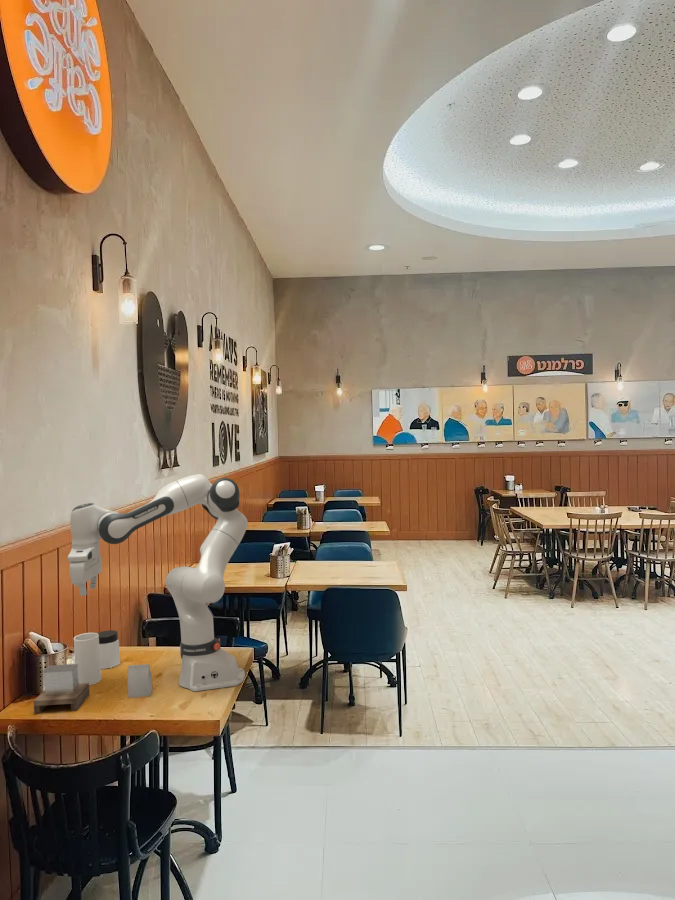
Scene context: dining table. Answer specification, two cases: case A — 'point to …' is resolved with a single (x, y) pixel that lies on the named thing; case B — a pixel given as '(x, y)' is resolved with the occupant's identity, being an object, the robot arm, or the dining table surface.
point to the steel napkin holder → (61, 679)
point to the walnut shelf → (62, 699)
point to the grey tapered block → (139, 681)
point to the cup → (87, 658)
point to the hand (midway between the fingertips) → (88, 591)
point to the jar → (109, 649)
